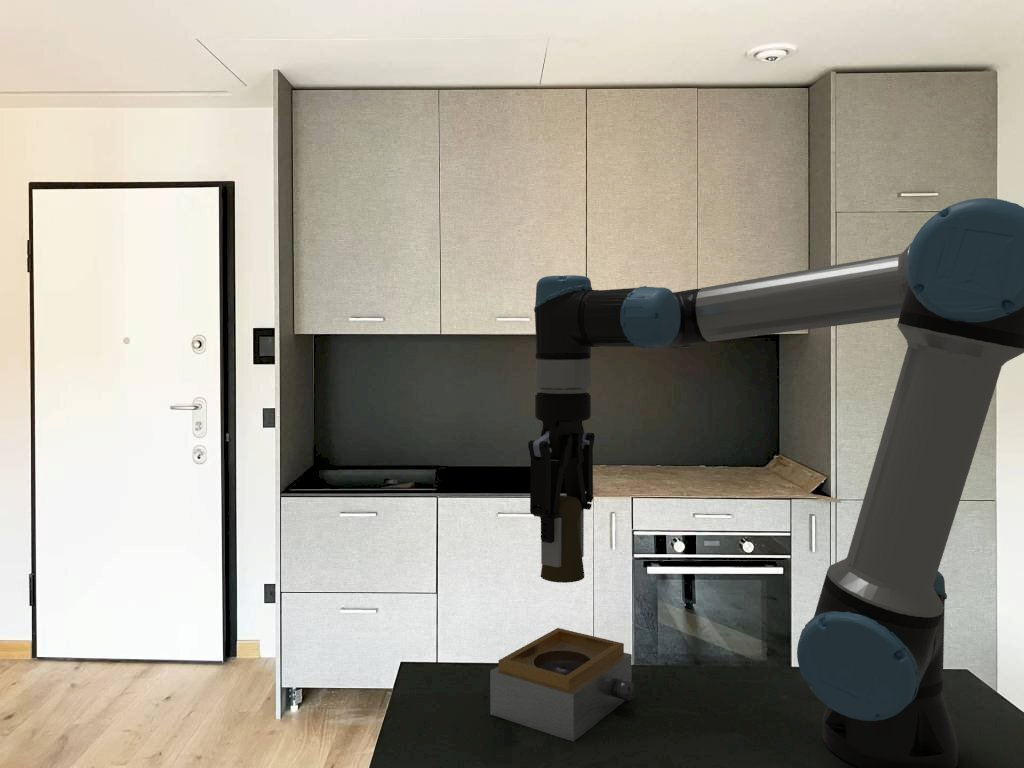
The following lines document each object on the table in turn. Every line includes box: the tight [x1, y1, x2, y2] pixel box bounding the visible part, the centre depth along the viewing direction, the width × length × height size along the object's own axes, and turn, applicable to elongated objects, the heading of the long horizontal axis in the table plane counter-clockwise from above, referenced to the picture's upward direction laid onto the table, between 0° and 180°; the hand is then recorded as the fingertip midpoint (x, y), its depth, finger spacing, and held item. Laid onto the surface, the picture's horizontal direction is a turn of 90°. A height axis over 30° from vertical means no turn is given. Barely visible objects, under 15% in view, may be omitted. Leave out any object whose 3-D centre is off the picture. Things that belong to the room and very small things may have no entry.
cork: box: [540, 495, 585, 584], centre depth 109 cm, size 6×6×11 cm
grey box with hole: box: [489, 627, 636, 743], centre depth 110 cm, size 15×16×8 cm
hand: (562, 560), depth 110 cm, fingers closed on cork, 5 cm apart
